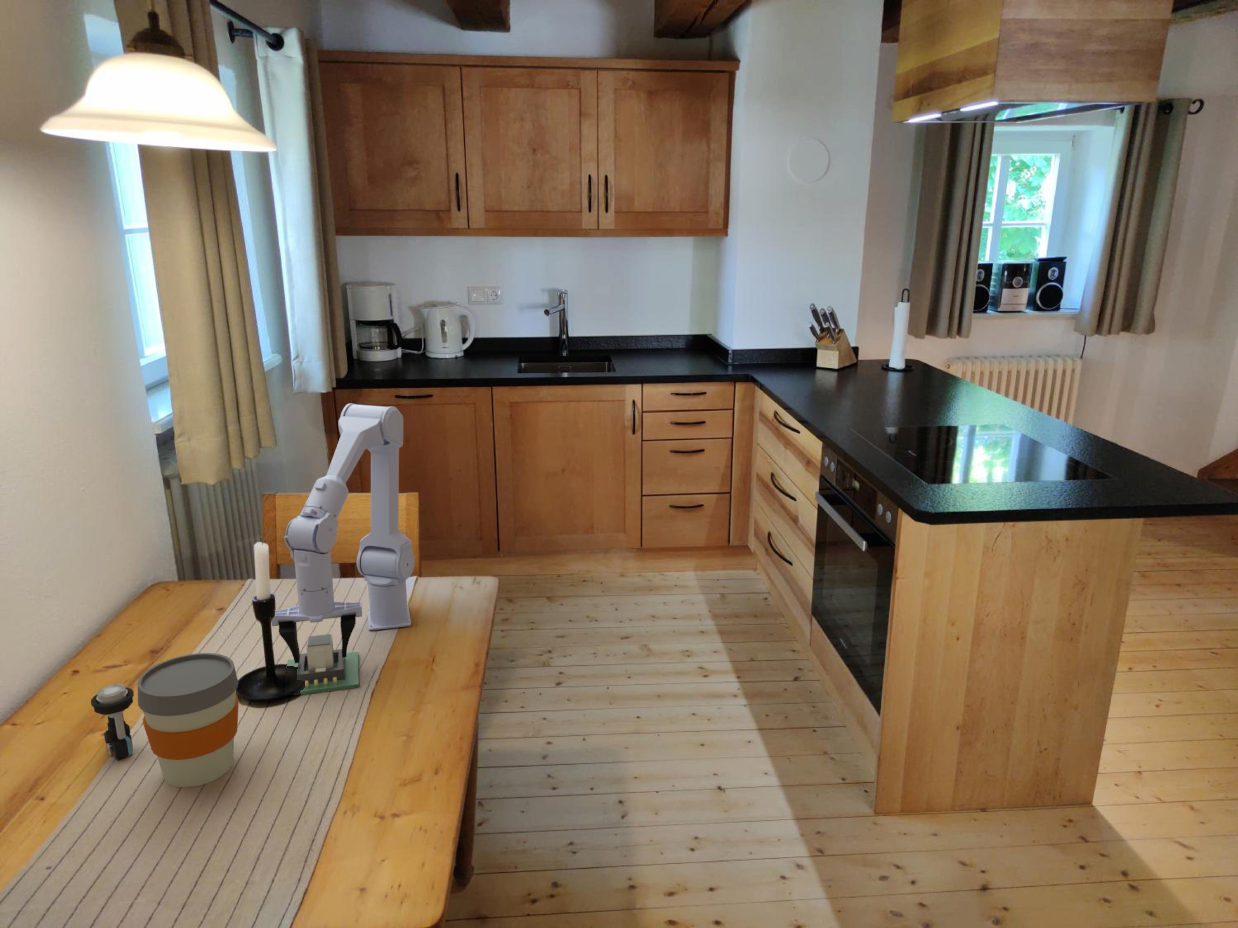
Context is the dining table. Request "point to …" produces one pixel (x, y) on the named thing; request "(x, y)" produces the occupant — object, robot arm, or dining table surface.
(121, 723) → the push button
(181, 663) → the reusable coffee cup
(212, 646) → the dining table surface
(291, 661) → the header socket
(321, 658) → the plug
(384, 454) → the robot arm
